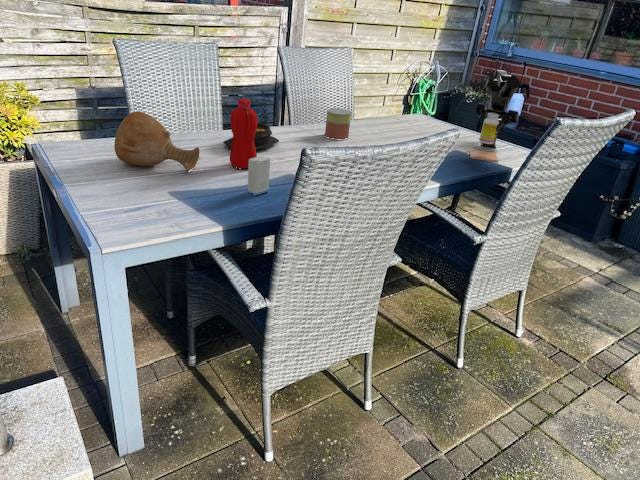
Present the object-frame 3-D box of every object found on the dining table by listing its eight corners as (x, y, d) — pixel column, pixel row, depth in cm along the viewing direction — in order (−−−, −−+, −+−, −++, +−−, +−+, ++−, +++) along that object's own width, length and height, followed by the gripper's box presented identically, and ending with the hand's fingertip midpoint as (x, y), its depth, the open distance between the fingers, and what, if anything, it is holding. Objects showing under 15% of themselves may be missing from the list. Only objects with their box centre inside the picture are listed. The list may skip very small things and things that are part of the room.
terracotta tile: (469, 150, 235) (469, 148, 234) (495, 154, 233) (495, 152, 232) (470, 158, 224) (470, 156, 224) (497, 162, 222) (498, 160, 222)
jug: (135, 120, 190) (210, 139, 188) (119, 166, 187) (195, 186, 185) (113, 96, 170) (197, 118, 169) (95, 148, 167) (180, 170, 166)
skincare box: (260, 188, 171) (261, 154, 166) (269, 192, 169) (270, 158, 163) (246, 193, 167) (247, 158, 161) (256, 197, 164) (257, 162, 159)
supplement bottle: (494, 145, 222) (502, 116, 216) (479, 143, 223) (486, 114, 217) (493, 141, 228) (500, 113, 222) (478, 139, 229) (485, 111, 223)
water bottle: (237, 172, 183) (237, 103, 171) (227, 162, 191) (227, 96, 180) (260, 170, 187) (263, 103, 175) (250, 161, 195) (251, 96, 184)
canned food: (352, 137, 238) (355, 111, 232) (340, 141, 229) (343, 115, 224) (332, 132, 243) (335, 107, 237) (320, 136, 234) (322, 110, 229)
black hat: (241, 156, 199) (241, 136, 195) (214, 144, 210) (214, 124, 206) (288, 147, 215) (289, 128, 211) (260, 136, 226) (261, 117, 222)
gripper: (481, 84, 222) (467, 113, 219) (524, 92, 213) (509, 122, 210) (483, 99, 231) (469, 127, 229) (524, 108, 222) (510, 137, 219)
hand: (488, 128), depth 221 cm, fingers closed on supplement bottle, 7 cm apart
